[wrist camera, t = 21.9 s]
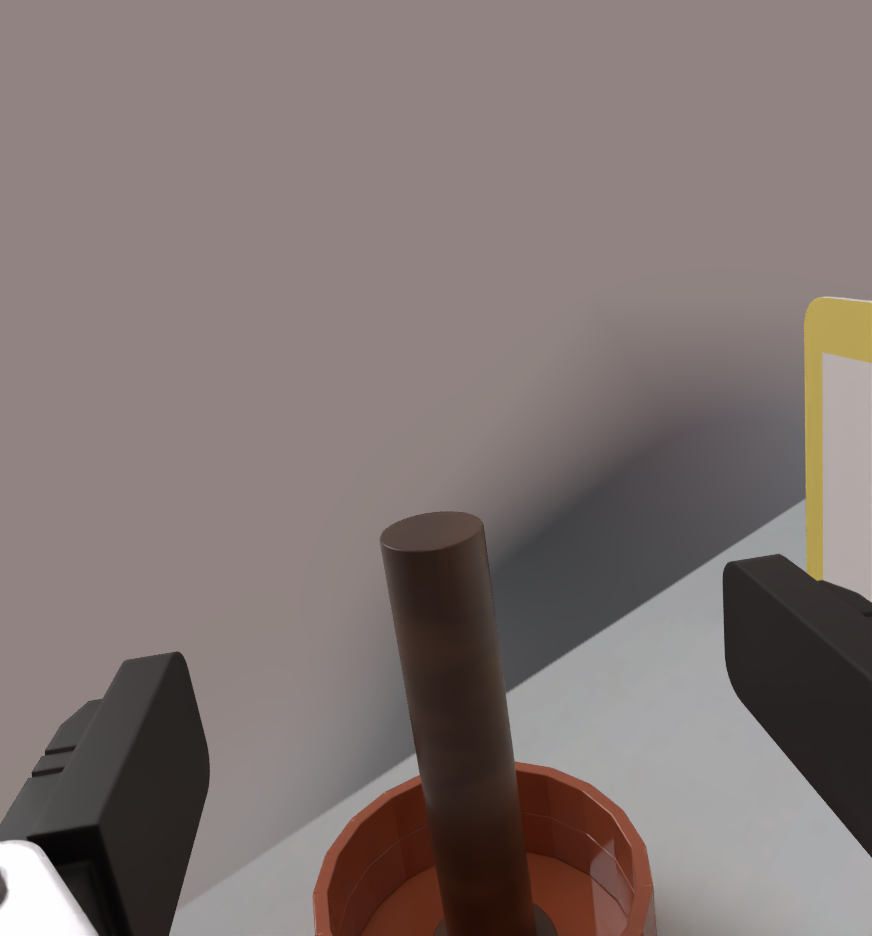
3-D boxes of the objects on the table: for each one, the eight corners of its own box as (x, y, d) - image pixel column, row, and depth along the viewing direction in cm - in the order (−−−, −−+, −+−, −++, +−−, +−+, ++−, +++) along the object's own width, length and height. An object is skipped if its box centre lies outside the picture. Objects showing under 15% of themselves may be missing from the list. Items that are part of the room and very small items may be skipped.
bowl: (272, 1075, 25) (243, 965, 24) (421, 830, 35) (406, 742, 33) (620, 1216, 20) (606, 1089, 19) (682, 887, 30) (676, 787, 28)
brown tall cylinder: (439, 1036, 25) (355, 572, 20) (427, 922, 29) (355, 516, 25) (576, 1009, 25) (521, 545, 21) (544, 899, 29) (494, 494, 25)
